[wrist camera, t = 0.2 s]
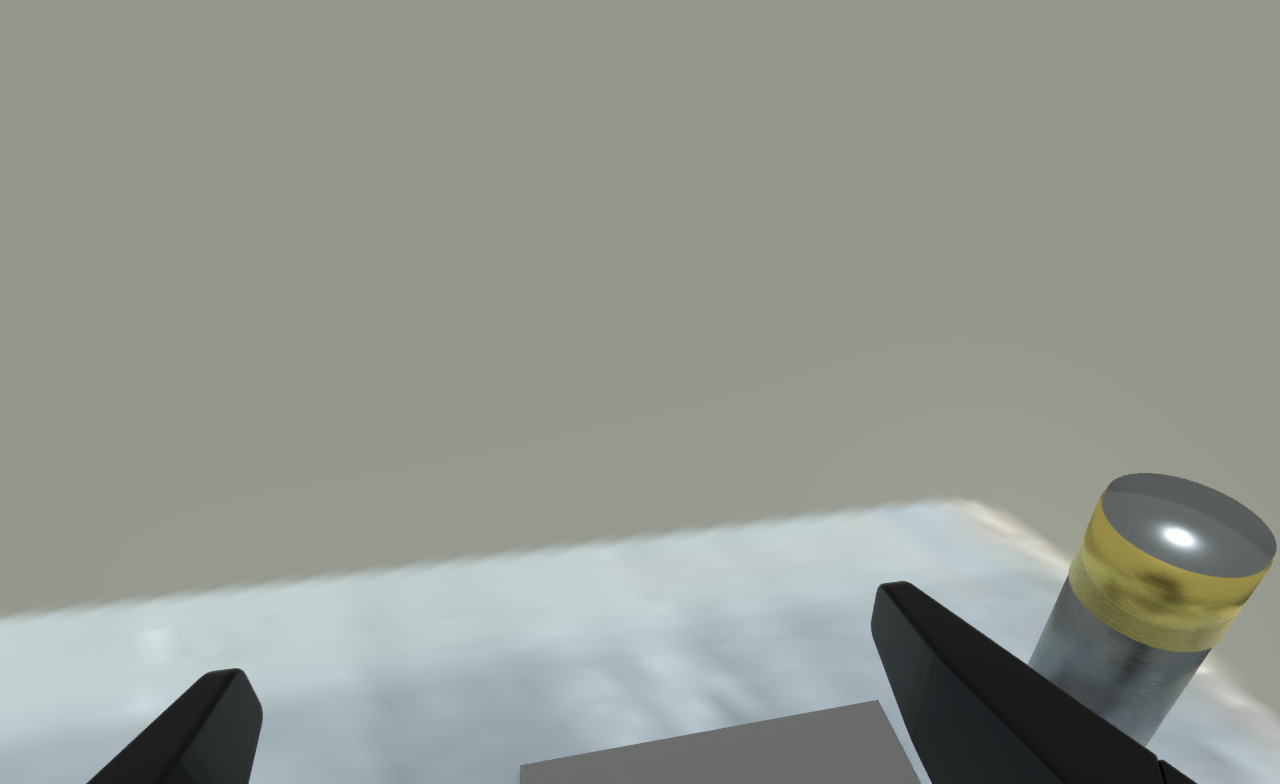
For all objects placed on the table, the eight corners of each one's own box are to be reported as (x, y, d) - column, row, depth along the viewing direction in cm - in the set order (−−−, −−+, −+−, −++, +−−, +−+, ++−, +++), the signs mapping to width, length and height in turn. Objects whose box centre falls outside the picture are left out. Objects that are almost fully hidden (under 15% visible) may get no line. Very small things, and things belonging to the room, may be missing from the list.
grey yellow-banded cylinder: (1118, 834, 22) (1320, 557, 15) (1022, 855, 21) (1185, 580, 14) (1046, 734, 25) (1187, 464, 18) (961, 751, 24) (1071, 481, 17)
